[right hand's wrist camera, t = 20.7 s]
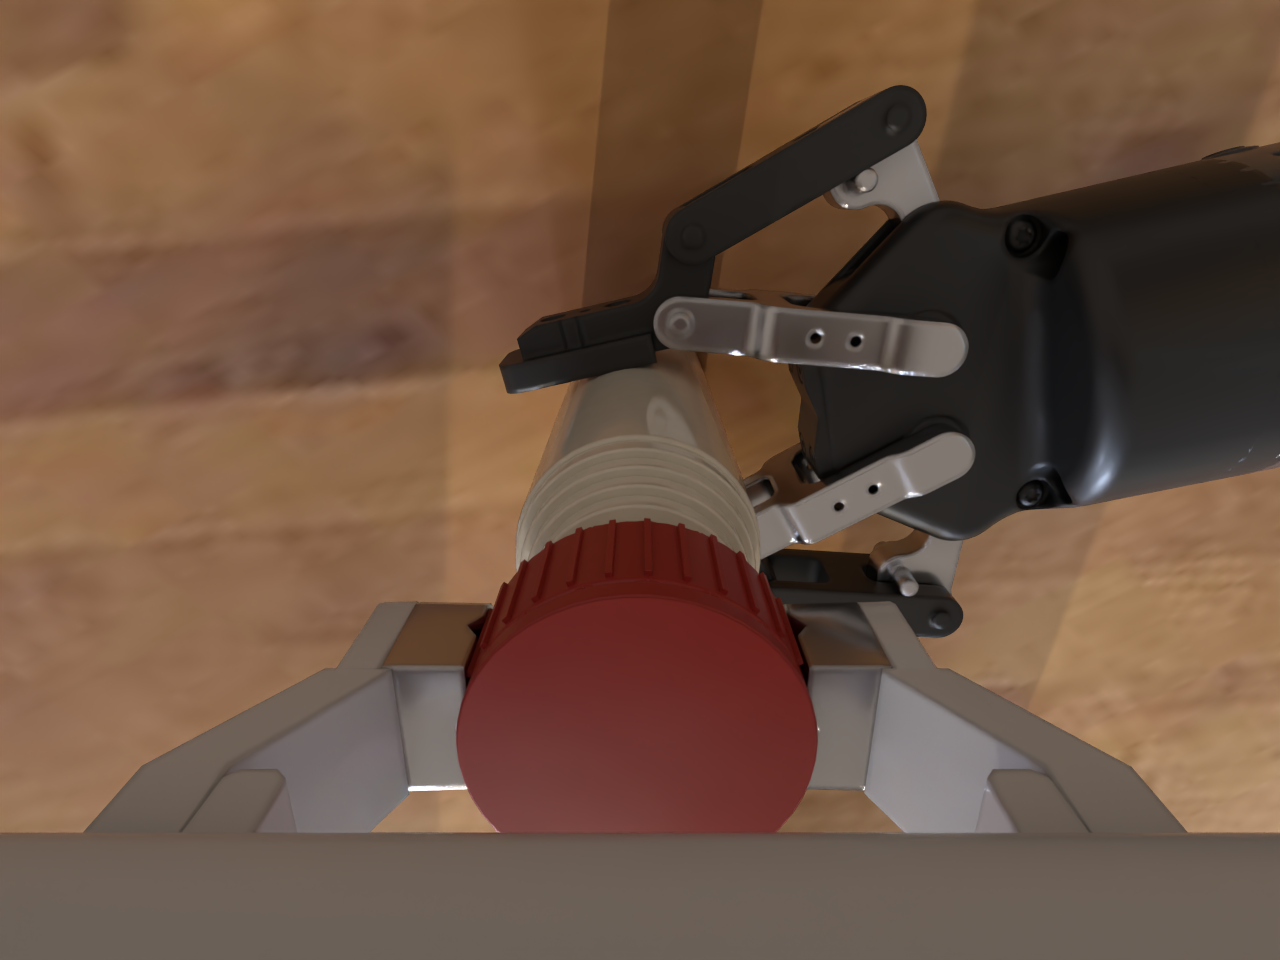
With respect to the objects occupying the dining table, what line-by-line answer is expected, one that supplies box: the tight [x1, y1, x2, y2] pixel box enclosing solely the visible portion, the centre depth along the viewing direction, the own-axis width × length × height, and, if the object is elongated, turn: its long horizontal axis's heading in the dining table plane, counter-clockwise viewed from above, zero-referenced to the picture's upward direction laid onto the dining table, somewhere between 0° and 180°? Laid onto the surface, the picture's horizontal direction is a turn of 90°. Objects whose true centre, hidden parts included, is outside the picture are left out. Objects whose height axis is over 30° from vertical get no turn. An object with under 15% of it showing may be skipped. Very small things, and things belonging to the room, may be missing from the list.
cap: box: [456, 518, 818, 833], centre depth 9 cm, size 4×4×2 cm
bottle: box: [516, 348, 760, 573], centre depth 17 cm, size 4×4×17 cm
